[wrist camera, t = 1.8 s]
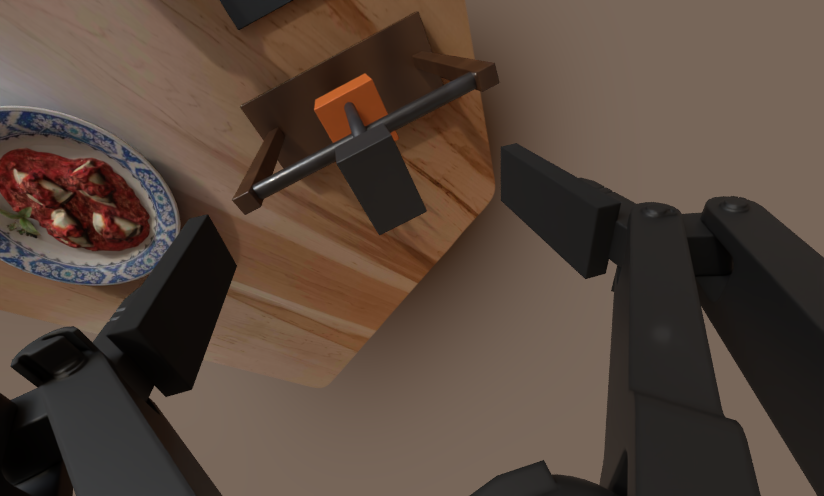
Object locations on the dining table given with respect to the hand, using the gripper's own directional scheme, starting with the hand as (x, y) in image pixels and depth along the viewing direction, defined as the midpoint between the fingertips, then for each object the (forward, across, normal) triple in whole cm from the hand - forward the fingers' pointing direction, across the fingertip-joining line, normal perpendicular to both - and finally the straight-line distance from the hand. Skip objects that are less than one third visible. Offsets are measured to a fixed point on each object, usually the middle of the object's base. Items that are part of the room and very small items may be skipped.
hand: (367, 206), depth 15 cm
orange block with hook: (+26, +1, -1) cm, 26 cm away
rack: (+38, +1, -1) cm, 38 cm away
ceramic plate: (+38, -39, -7) cm, 55 cm away
